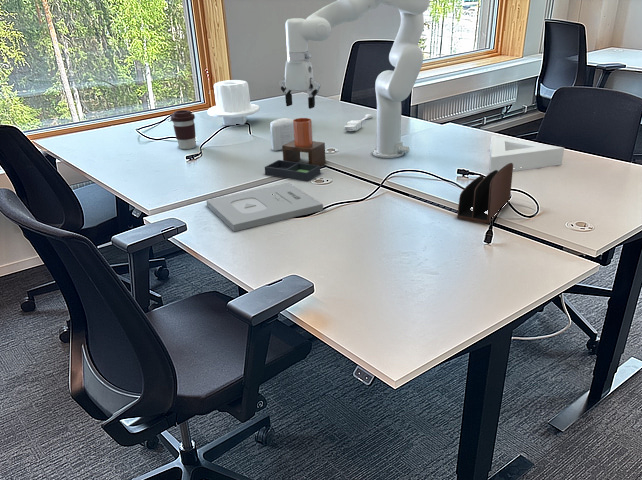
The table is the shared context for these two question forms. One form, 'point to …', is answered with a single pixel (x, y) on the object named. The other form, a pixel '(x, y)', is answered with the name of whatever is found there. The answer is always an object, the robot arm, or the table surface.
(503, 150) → the triangle block
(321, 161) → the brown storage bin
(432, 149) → the table surface
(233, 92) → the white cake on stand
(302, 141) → the cup
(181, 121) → the coffee cup
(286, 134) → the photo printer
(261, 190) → the award plaque
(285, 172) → the divided tray
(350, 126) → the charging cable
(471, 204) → the letter holder
